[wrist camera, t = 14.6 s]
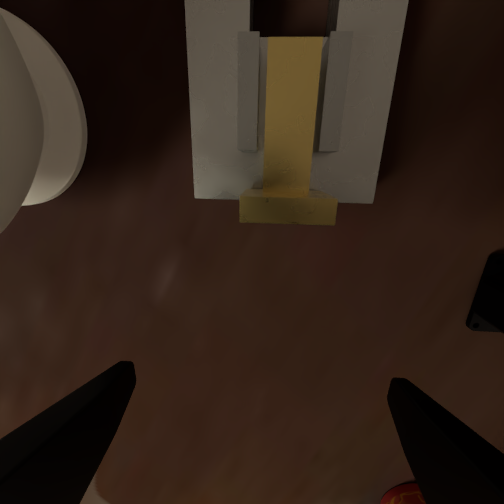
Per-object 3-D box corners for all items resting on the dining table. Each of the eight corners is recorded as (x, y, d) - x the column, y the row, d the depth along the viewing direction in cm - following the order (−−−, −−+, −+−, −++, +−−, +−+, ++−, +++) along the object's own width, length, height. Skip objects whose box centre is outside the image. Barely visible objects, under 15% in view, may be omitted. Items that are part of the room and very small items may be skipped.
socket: (404, -118, 13) (478, -270, 8) (356, 197, 18) (386, 208, 14) (194, -111, 14) (157, -252, 9) (205, 193, 19) (186, 202, 14)
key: (334, 56, 13) (362, 9, 9) (318, 210, 15) (334, 225, 12) (248, 55, 13) (240, 10, 9) (246, 208, 16) (239, 222, 12)
